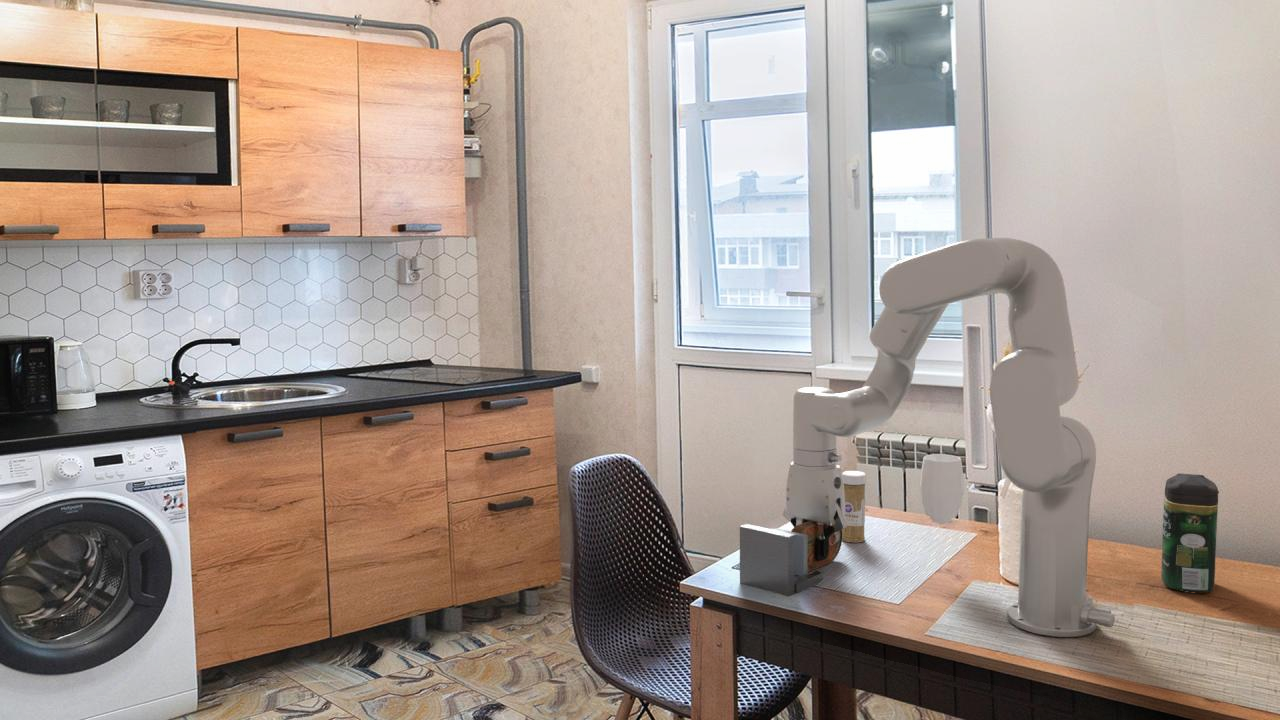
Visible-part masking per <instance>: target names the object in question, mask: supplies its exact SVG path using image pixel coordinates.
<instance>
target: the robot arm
mask: <svg viewBox="0 0 1280 720" xmlns="http://www.w3.org/2000/svg"><path fill="white" fill-rule="evenodd" d="M878 287H879V289H878V290H879V296H880V300H881V302H882V304H883V305H884V308H883V310H882V312H881V313H880V315H879V316H878V318H877V319H876V322H874V325H873V327H872V329H871V330H870V331H869V332H870V333H869V339H870V342H871V344H872V346H873V347H874V348H875V349H876V350H877V358H876V361H875V364H874V366H873V369H872V370H871V372H870V374H869V375H868V377H867V379H866V380H865V382H864V383H863V385H862V386H861V387H860V388H856V389H853V390H848V391H844V392H840V393H839V392H838V393H836V392H835V391H834V390H833V389H831V388H827V387H820V386H807V387H800V388H798V389H797V390H796V391H794V395H793V407H792V408H793V411H792V413H793V416H792V417H793V418H792V419H793V421H792V423H793V427H792V430H793V435H792V436H793V437H792V440H793V441H792V445H793V447H792V449H793V450H792V462H790V464H789V467H788V474H787V479H786V488H785V489H786V490H785V508H784V509H783V512H782V517H783V518H785V519H786V520H787V521H789V522H790V523H791V525H792V526H793V528H794V527H795V526H797V525H799V524H802V523H805V522H807V521H814V522H817V526H818V539H816V540H815V560H816V561H822V560H824V559H826V558H827V557H828V554H829V537H831V536H832V534H834V533H835V532H836V531H838V530H841V529H844V528H846V527H847V525H846V522H845V519H844V517H845V494H844V484H843V477H842V473H843V472H842V468H841V466H840V465H838V464H837V463H840V462H842V459H843V457H842V455H841V454H839V453H837V437H841V438H849V437H854V436H857V435H861V434H863V433H866V432H869V431H873V430H876V429H879V428H881V427H882V426H884V425H885V424H886V423H887V422H888V421H890V420H891V418H892V417H893V415H894V414H895V413H896V411H897V409H898V408H899V406H900V405H901V403H902V402H903V401H904V400H903V399H904V398H905V396H906V395H907V392H908V391H909V389H910V387H911V384H912V381H913V378H914V374H915V373H914V372H915V369H916V360H917V358H918V355H919V354H920V352H921V350H922V349H923V347H924V345H925V343H926V341H927V340H928V338H929V337H930V335H931V333H932V331H933V330H934V329H935V326H936V325H937V323H938V322H939V320H940V319H941V317H942V316H943V314H944V313H945V311H946V309H947V308H948V305H949V304H953V303H956V302H961V301H964V300H968V299H973V298H977V297H983V296H990V295H992V296H993V295H997V294H1004V295H1005V296H1007V298H1008V301H1009V303H1008V304H1009V305H1008V306H1009V307H1008V314H1007V315H1008V318H1007V321H1008V331H1009V335H1010V341H1011V353H1009V354H1008V355H1006V356H1004V357H1003V358H1002V359H1001V360H1000V361H998V363H997V364H996V365H995V367H994V369H993V371H992V374H991V378H990V385H989V395H990V396H989V397H990V398H989V399H990V404H991V413H992V420H993V427H994V433H995V441H996V447H997V455H998V459H999V463H1000V466H1001V469H1002V471H1003V473H1004V475H1005V476H1006V478H1007V479H1008V480H1009V482H1010V483H1012V484H1013V485H1014V486H1015V487H1017V488H1019V489H1020V490H1022V496H1021V505H1020V528H1019V529H1020V530H1019V531H1020V534H1019V535H1020V536H1019V560H1018V561H1019V565H1018V566H1019V567H1018V569H1019V570H1018V598H1017V600H1018V601H1017V602H1016V603H1014V604H1012V605H1010V606H1009V607H1008V608H1007V610H1006V617H1007V620H1008V621H1009V622H1010V624H1012V625H1013V626H1015V627H1017V628H1019V629H1021V630H1024V631H1025V632H1029V633H1032V634H1037V635H1042V636H1045V637H1046V636H1047V637H1048V636H1049V637H1058V638H1077V637H1083V636H1086V635H1087V636H1088V635H1090V634H1092V633H1093V632H1094V631H1095V630H1096V628H1097V625H1099V626H1102V627H1106V628H1110V629H1111V628H1112V629H1113V627H1114V624H1115V619H1116V618H1115V614H1112V610H1111V609H1108V608H1103V607H1097V606H1096V605H1095V604H1093V595H1090V594H1087V581H1088V580H1087V576H1088V575H1087V572H1088V553H1089V552H1088V550H1089V547H1088V546H1089V527H1090V513H1091V510H1090V509H1091V506H1090V505H1091V496H1092V489H1093V483H1094V482H1093V481H1094V475H1095V469H1096V462H1097V446H1096V443H1095V440H1094V437H1093V435H1092V433H1091V432H1090V430H1089V429H1088V428H1087V427H1086V426H1085V425H1084V424H1083V423H1082V422H1081V421H1078V420H1076V419H1074V418H1072V417H1069V416H1062V415H1061V409H1060V407H1062V406H1063V405H1065V404H1067V403H1069V402H1070V401H1071V400H1072V399H1073V398H1074V396H1075V395H1076V393H1077V391H1078V389H1079V384H1080V383H1079V382H1080V378H1079V370H1078V365H1077V358H1076V352H1075V346H1074V340H1073V339H1074V338H1073V332H1072V325H1071V322H1070V321H1071V320H1070V318H1069V317H1070V316H1069V310H1068V309H1069V308H1068V302H1067V294H1066V289H1065V282H1064V279H1063V275H1062V273H1061V270H1060V267H1059V266H1058V264H1057V262H1056V261H1055V260H1054V258H1053V257H1052V256H1051V255H1050V254H1049V253H1048V252H1046V251H1045V250H1044V249H1043V248H1041V247H1039V246H1038V245H1035V244H1032V243H1030V242H1027V241H1024V240H1021V239H1016V238H1010V237H1009V238H1008V237H990V238H989V237H988V238H972V239H966V240H962V241H958V242H954V243H952V244H949V245H946V246H943V247H940V248H936V249H933V250H931V251H927V252H924V253H920V254H917V255H915V256H911V257H907V258H904V259H902V260H898V261H897V262H894V263H893V264H891V265H890V266H889V267H888V268H887V269H886V271H885V272H884V273H883V275H882V276H881V279H880V282H879V286H878ZM833 519H834V520H835V524H833V525H832V522H833Z"/></svg>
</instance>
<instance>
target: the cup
mask: <svg viewBox="0 0 1280 720" xmlns="http://www.w3.org/2000/svg"><path fill="white" fill-rule="evenodd" d="M962 463H963V462H962V459H961V457H960V456H957V455H952V454H945V453H941V454H940V453H939V454H938V453H936V454H935V453H934V454H933V453H932V454H927V455H924V456H923V458H922V464H921V465H922V466H921V470H920V481H919V482H920V485H919V491H920V498H921V504H922V507H923V510H924V514H925V515H926V517H929V518H930V519H931V521H932V522H933V523H936V524H938V525H944V524H949V523H950V522H951V520H953V518H957V517H958V514H959V511H960V509H961V506H962V501H963V495H964V489H965V488H964V471H963V464H962Z"/></svg>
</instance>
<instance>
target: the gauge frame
mask: <svg viewBox="0 0 1280 720" xmlns="http://www.w3.org/2000/svg"><path fill="white" fill-rule="evenodd" d="M821 581H822V582H823V581H824V572H822V571H820V570H818V571H817V570H815V571H814V570H813V571H811V572H809V573H807V575H805V576H800V577H799V578H797V579H796V574H795V534H791V533H786V532H782V531H777V530H773V528H767V527H763V526H758V525H755V524H749V523H745V524H742V525H739V583H740V584H742V585H747V586H750V587H755V588H757V589H761V590H765V591H769V592H773V593H775V594H780V595H783V596H787V597H789V596H792V595H794V594H798V593H801V592H802V591H805V590H807V589H809V588H811V587H813V586H815V585H817V584H820V583H821Z"/></svg>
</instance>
